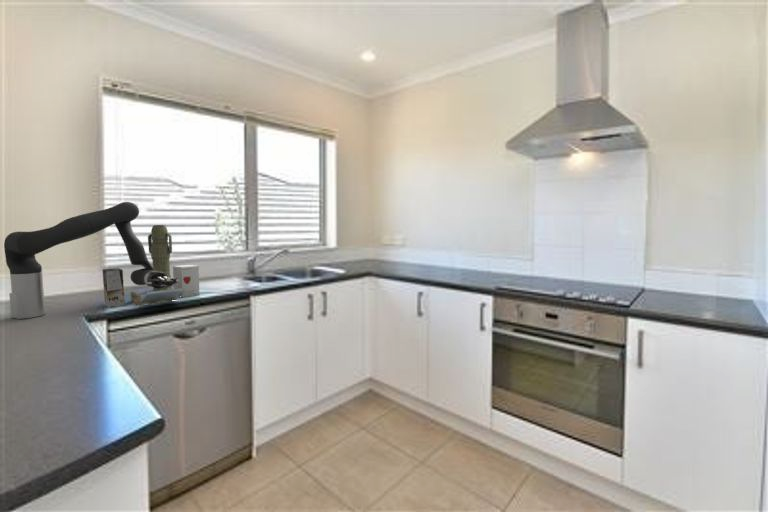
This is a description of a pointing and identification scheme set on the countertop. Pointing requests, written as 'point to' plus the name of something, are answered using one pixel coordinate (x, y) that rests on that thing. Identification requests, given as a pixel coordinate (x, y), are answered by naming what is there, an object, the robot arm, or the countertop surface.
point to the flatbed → (136, 300)
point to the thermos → (160, 250)
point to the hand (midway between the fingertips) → (170, 283)
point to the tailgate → (161, 295)
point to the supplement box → (187, 279)
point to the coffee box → (113, 287)
